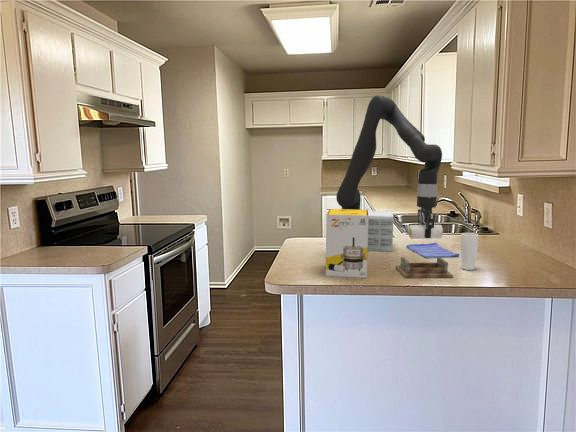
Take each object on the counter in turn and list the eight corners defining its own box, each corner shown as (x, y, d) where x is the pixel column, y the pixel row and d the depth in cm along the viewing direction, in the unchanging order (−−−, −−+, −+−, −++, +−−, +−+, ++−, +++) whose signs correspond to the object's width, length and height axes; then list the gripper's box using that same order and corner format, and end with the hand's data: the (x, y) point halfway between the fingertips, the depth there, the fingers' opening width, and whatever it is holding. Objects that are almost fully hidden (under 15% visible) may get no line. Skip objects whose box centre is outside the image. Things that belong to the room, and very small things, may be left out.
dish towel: (436, 247, 220) (436, 242, 220) (460, 258, 197) (461, 252, 196) (405, 248, 218) (405, 243, 217) (426, 259, 194) (426, 254, 194)
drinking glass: (475, 271, 173) (477, 236, 171) (457, 269, 176) (460, 234, 174) (477, 268, 179) (480, 233, 176) (460, 265, 182) (462, 232, 180)
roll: (411, 239, 166) (412, 225, 166) (407, 237, 172) (408, 224, 171) (443, 239, 167) (443, 225, 166) (438, 237, 172) (438, 223, 171)
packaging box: (325, 276, 168) (326, 214, 164) (328, 265, 184) (329, 209, 180) (366, 278, 165) (368, 215, 161) (366, 266, 181) (367, 209, 177)
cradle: (404, 278, 164) (405, 264, 164) (395, 268, 178) (396, 255, 177) (452, 278, 165) (453, 264, 164) (439, 268, 178) (440, 255, 178)
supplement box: (366, 243, 227) (367, 210, 224) (391, 244, 224) (392, 211, 221) (365, 251, 210) (366, 215, 207) (392, 252, 207) (394, 216, 204)
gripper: (412, 193, 174) (410, 233, 176) (423, 197, 160) (421, 240, 162) (430, 193, 174) (428, 233, 176) (443, 196, 160) (440, 240, 162)
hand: (425, 236), depth 169 cm, fingers closed on roll, 5 cm apart
